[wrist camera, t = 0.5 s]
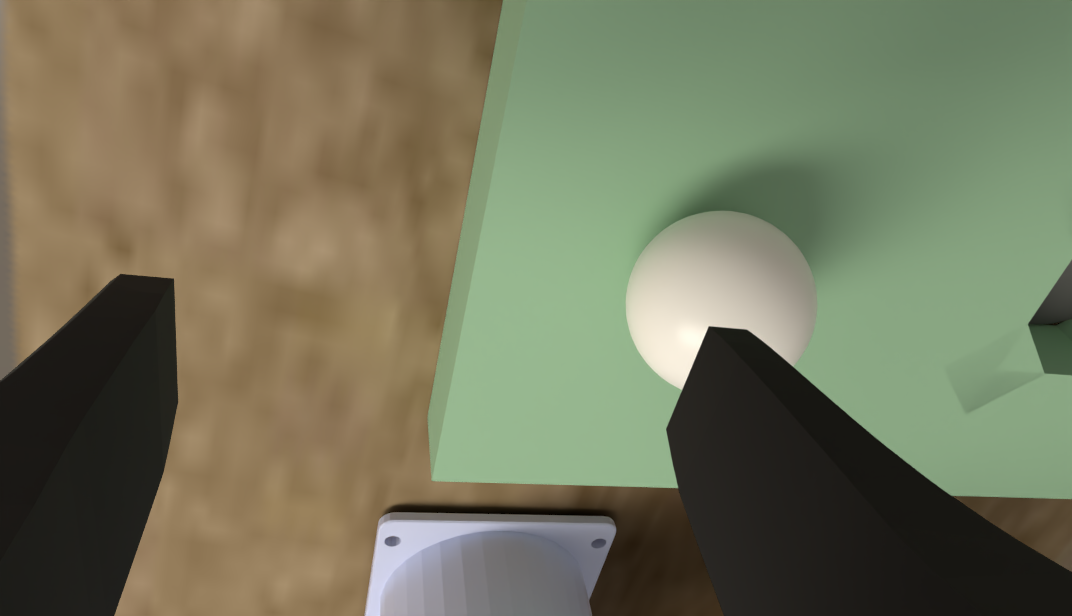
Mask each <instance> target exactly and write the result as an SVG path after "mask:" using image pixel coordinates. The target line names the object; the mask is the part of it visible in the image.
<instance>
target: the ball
mask: <svg viewBox="0 0 1072 616" xmlns="http://www.w3.org/2000/svg"><path fill="white" fill-rule="evenodd" d="M625 303H626V318H627V323H628V327H629V331H630V334H631V337H632V339H633V342H634V344H635V346H636V348H637V350H638V352H639V353H640V355H641V356H642V358H643V359H644V360H645V362H646V363H647V364H648V365H649V366H650V367H651V368H652V370H653V371H654V372H656V373H657V374H658V375H659V376H660V377H661V378H663V379H664V380H665V381H667V382H668V383H670V384H672V385H674V386H675V387H677V388H679V389H681V390H682V389H683V387H684V384H685V382H686V380H687V377H688V375H689V372H690V370H691V368H692V365H693V363H694V360H695V358H696V356H697V353H698V351H699V348H700V346H701V344H702V341H703V339H704V336H705V334H706V332H707V329H708V327H709V326H713V327H724V328H735V329H746V330H748V331H750V332H751V333H753V334H754V335H755V336H757V337H758V338H759V339H761V340H762V341H763V342H764V343H766V344H767V345H768V346H769V347H770V348H772V349H773V350H774V351H775V352H776V353H778V354H779V355H780V356H781V357H782V358H784V359H785V360H786V361H787V362H788V363H789V364H791V365H792V366H794V365H795V364H796V363H797V362H798V360H799V359H800V357H801V356H802V354H803V353H804V351H805V350H806V348H807V346H808V344H809V342H810V339H811V337H812V334H813V331H814V327H815V324H816V316H817V306H818V304H817V291H816V286H815V281H814V278H813V275H812V272H811V269H810V267H809V265H808V263H807V261H806V259H805V257H804V256H803V254H802V253H801V251H800V250H799V248H798V247H797V246H796V245H795V244H794V243H793V241H792V240H791V239H790V238H789V237H788V236H787V235H786V234H784V233H783V232H782V231H780V230H779V229H778V228H776V227H775V226H773V225H772V224H770V223H768V222H766V221H764V220H762V219H760V218H758V217H755V216H752V215H749V214H745V213H740V212H734V211H709V212H704V213H698V214H695V215H691V216H688V217H686V218H683V219H681V220H679V221H677V222H675V223H673V224H671V225H670V226H668V227H667V228H665V229H664V230H662V231H661V232H660V233H659V234H658V235H657V236H655V237H654V238H653V240H652V241H651V242H650V243H649V244H648V245H647V246H646V247H645V249H644V250H643V251H642V253H641V254H640V256H639V257H638V259H637V261H636V263H635V265H634V267H633V270H632V272H631V275H630V278H629V282H628V286H627V292H626V302H625Z"/></svg>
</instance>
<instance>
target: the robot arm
mask: <svg viewBox="0 0 1072 616" xmlns="http://www.w3.org/2000/svg"><path fill="white" fill-rule="evenodd" d="M177 404H178V387H177V357H176V326H175V296H174V279H171V278H159V277H148V276H137V275H126V274H120V275H119V276H117V277H116V278H114V279H113V280H112V281H110V282H109V283H108V284H107V285H106V286H105V287H104V288H103V289H102V290H101V291H100V292H99V293H98V294H97V295H96V296H95V297H94V298H93V299H91V300H90V301H89V302H88V303H87V304H86V305H85V306H84V307H83V308H82V309H81V310H80V311H79V312H78V313H77V314H76V315H75V316H73V317H72V318H71V319H70V320H69V321H68V322H67V323H66V324H65V325H64V326H63V327H61V328H60V329H59V330H58V331H57V332H56V333H55V334H54V335H53V336H52V337H51V338H49V339H48V340H47V341H46V342H45V343H44V344H43V345H41V346H40V347H39V348H38V349H37V350H36V351H34V352H33V353H32V354H31V355H30V356H29V357H27V358H26V359H25V360H24V361H23V362H22V363H20V364H19V365H18V366H17V367H16V368H15V369H13V370H12V371H11V372H10V373H9V374H8V375H7V376H5V377H4V378H3V379H2V380H0V616H114V615H115V612H116V609H117V606H118V603H119V600H120V597H121V594H122V592H123V589H124V586H125V583H126V580H127V577H128V574H129V571H130V569H131V566H132V563H133V560H134V557H135V554H136V551H137V548H138V545H139V543H140V540H141V537H142V534H143V531H144V528H145V525H146V522H147V519H148V517H149V514H150V511H151V508H152V505H153V502H154V499H155V496H156V493H157V490H158V487H159V484H160V481H161V478H162V475H163V472H164V467H165V463H166V458H167V453H168V449H169V444H170V439H171V434H172V429H173V424H174V419H175V414H176V409H177ZM666 432H667V437H668V442H669V447H670V453H671V458H672V463H673V467H674V472H675V476H676V480H677V485H678V489H679V493H680V496H681V499H682V501H683V504H684V507H685V510H686V513H687V516H688V518H689V521H690V524H691V527H692V530H693V532H694V535H695V538H696V541H697V544H698V546H699V549H700V552H701V554H702V557H703V560H704V562H705V565H706V568H707V571H708V573H709V576H710V579H711V581H712V584H713V587H714V590H715V592H716V595H717V598H718V600H719V603H720V606H721V609H722V611H723V614H724V616H1072V572H1070V571H1069V570H1067V569H1065V568H1064V567H1062V566H1060V565H1059V564H1057V563H1055V562H1054V561H1052V560H1050V559H1048V558H1047V557H1045V556H1043V555H1042V554H1040V553H1038V552H1037V551H1035V550H1033V549H1032V548H1030V547H1028V546H1026V545H1025V544H1023V543H1022V542H1020V541H1018V540H1017V539H1015V538H1014V537H1012V536H1011V535H1009V534H1007V533H1006V532H1004V531H1003V530H1001V529H999V528H998V527H996V526H995V525H993V524H992V523H990V522H989V521H987V520H986V519H985V518H983V517H982V516H980V515H979V514H977V513H976V512H974V511H973V510H971V509H970V508H968V507H967V506H966V505H964V504H963V503H961V502H960V501H958V500H957V499H955V498H954V497H952V496H951V495H949V494H948V493H947V492H945V491H944V490H943V489H941V488H940V487H938V486H937V485H936V484H934V483H933V482H932V481H930V480H929V479H928V478H926V477H925V476H924V475H922V474H921V473H920V472H918V471H917V470H916V469H915V468H913V467H912V466H911V465H909V464H908V463H907V462H906V461H904V460H903V459H902V458H900V457H899V456H898V455H897V454H895V453H894V452H893V451H892V450H890V449H889V448H888V447H886V446H885V445H884V444H883V443H882V442H880V441H879V440H878V439H877V438H875V437H874V436H873V435H872V434H871V433H869V432H868V431H867V430H866V429H865V428H863V427H862V426H861V425H860V424H859V423H857V422H856V421H855V420H854V419H853V418H852V417H850V416H849V415H848V414H847V413H846V412H845V411H843V410H842V409H841V408H840V407H839V406H838V405H836V404H835V403H834V402H833V401H832V400H831V399H829V398H828V397H827V396H826V395H825V394H824V393H823V392H821V391H820V390H819V389H818V388H817V387H816V386H815V385H813V384H812V383H811V382H810V381H809V380H808V379H807V378H805V377H804V376H803V375H802V374H801V373H800V372H799V371H797V370H796V369H795V368H794V367H793V366H792V365H791V364H789V363H788V362H787V361H786V360H785V359H784V358H782V357H781V356H780V355H779V354H778V353H776V352H775V351H774V350H773V349H772V348H770V347H769V346H768V345H767V344H766V343H764V342H763V341H762V340H761V339H759V338H758V337H757V336H755V335H754V334H753V333H751V332H750V331H748V330H746V329H735V328H724V327H713V326H709V327H708V329H707V332H706V334H705V336H704V339H703V341H702V344H701V346H700V348H699V351H698V353H697V356H696V358H695V360H694V363H693V365H692V368H691V370H690V372H689V375H688V377H687V380H686V382H685V384H684V387H683V389H682V392H681V394H680V396H679V399H678V401H677V404H676V406H675V409H674V411H673V413H672V416H671V418H670V421H669V423H668V425H667V428H666ZM615 534H616V526H615V523H614V521H613V519H611V518H610V517H606V516H572V515H519V514H466V513H414V512H392V513H388V514H386V515H384V516H383V517H381V518H380V520H379V522H378V528H377V535H376V542H375V548H374V555H373V562H372V568H371V575H370V581H369V588H368V595H367V601H366V608H365V615H364V616H592V612H591V608H590V603H589V599H590V597H591V594H592V592H593V589H594V587H595V584H596V582H597V579H598V577H599V574H600V572H601V569H602V567H603V564H604V562H605V559H606V557H607V554H608V552H609V549H610V547H611V544H612V542H613V539H614V537H615ZM390 536H393V537H390Z"/></svg>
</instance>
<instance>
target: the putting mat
mask: <svg viewBox="0 0 1072 616" xmlns="http://www.w3.org/2000/svg"><path fill="white" fill-rule="evenodd" d="M709 211H734V212H740V213H745V214H749V215H752V216H755V217H758V218H760V219H762V220H764V221H766V222H768V223H770V224H772V225H773V226H775V227H776V228H778V229H779V230H780V231H782V232H783V233H784V234H786V235H787V236H788V237H789V238H790V239H791V240H792V241H793V243H794V244H795V245H796V246H797V247H798V248H799V250H800V251H801V253H802V254H803V256H804V257H805V259H806V261H807V263H808V265H809V267H810V269H811V272H812V275H813V278H814V281H815V286H816V291H817V304H818V306H817V316H816V324H815V327H814V331H813V334H812V337H811V339H810V342H809V344H808V346H807V348H806V350H805V351H804V353H803V354H802V356H801V357H800V359H799V360H798V362H797V363H796V364H795V365H794V366H793V367H794V368H795V369H796V370H797V371H799V372H800V373H801V374H802V375H803V376H804V377H805V378H807V379H808V380H809V381H810V382H811V383H812V384H813V385H815V386H816V387H817V388H818V389H819V390H820V391H821V392H823V393H824V394H825V395H826V396H827V397H828V398H829V399H831V400H832V401H833V402H834V403H835V404H836V405H838V406H839V407H840V408H841V409H842V410H843V411H845V412H846V413H847V414H848V415H849V416H850V417H852V418H853V419H854V420H855V421H856V422H857V423H859V424H860V425H861V426H862V427H863V428H865V429H866V430H867V431H868V432H869V433H871V434H872V435H873V436H874V437H875V438H877V439H878V440H879V441H880V442H882V443H883V444H884V445H885V446H886V447H888V448H889V449H890V450H892V451H893V452H894V453H895V454H897V455H898V456H899V457H900V458H902V459H903V460H904V461H906V462H907V463H908V464H909V465H911V466H912V467H913V468H915V469H916V470H917V471H918V472H920V473H921V474H922V475H924V476H925V477H926V478H928V479H929V480H930V481H932V482H933V483H934V484H936V485H937V486H938V487H940V488H941V489H943V490H944V491H945V492H947V493H948V494H949V495H951V496H983V497H1019V498H1055V499H1072V0H503V4H502V9H501V15H500V20H499V26H498V31H497V37H496V42H495V48H494V53H493V59H492V64H491V70H490V75H489V81H488V87H487V92H486V98H485V103H484V109H483V114H482V120H481V125H480V131H479V136H478V142H477V147H476V153H475V158H474V164H473V169H472V175H471V180H470V186H469V191H468V197H467V202H466V208H465V213H464V219H463V224H462V230H461V235H460V241H459V246H458V252H457V257H456V263H455V268H454V274H453V279H452V285H451V290H450V296H449V301H448V307H447V312H446V318H445V323H444V329H443V335H442V340H441V346H440V351H439V357H438V362H437V368H436V373H435V379H434V384H433V390H432V395H431V401H430V406H429V412H428V431H429V446H430V461H431V476H432V481H447V482H483V483H518V484H554V485H590V486H626V487H661V488H678V485H677V480H676V476H675V472H674V467H673V463H672V458H671V453H670V447H669V442H668V437H667V432H666V428H667V425H668V423H669V421H670V418H671V416H672V413H673V411H674V409H675V406H676V404H677V401H678V399H679V396H680V394H681V392H682V390H681V389H679V388H677V387H675V386H674V385H672V384H670V383H668V382H667V381H665V380H664V379H663V378H661V377H660V376H659V375H658V374H657V373H656V372H654V371H653V370H652V368H651V367H650V366H649V365H648V364H647V363H646V362H645V360H644V359H643V358H642V356H641V355H640V353H639V352H638V350H637V348H636V346H635V344H634V342H633V339H632V337H631V334H630V331H629V327H628V323H627V318H626V303H625V302H626V292H627V286H628V282H629V278H630V275H631V272H632V270H633V267H634V265H635V263H636V261H637V259H638V257H639V256H640V254H641V253H642V251H643V250H644V249H645V247H646V246H647V245H648V244H649V243H650V242H651V241H652V240H653V238H654V237H655V236H657V235H658V234H659V233H660V232H661V231H662V230H664V229H665V228H667V227H668V226H670V225H671V224H673V223H675V222H677V221H679V220H681V219H683V218H686V217H688V216H691V215H695V214H698V213H704V212H709ZM1065 320H1066V321H1065ZM1062 321H1064V322H1062ZM1057 322H1062V323H1060V324H1058V325H1056V326H1055V325H1044V324H1052V323H1057Z"/></svg>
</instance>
